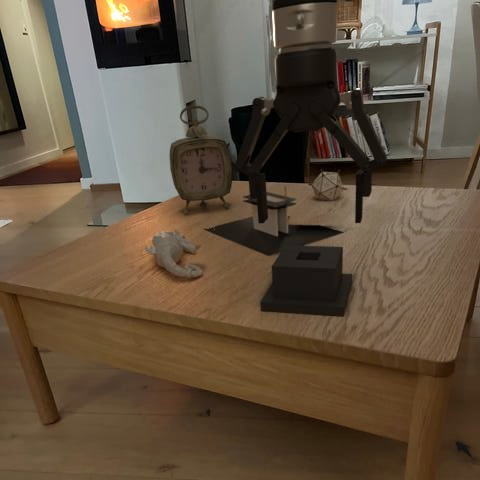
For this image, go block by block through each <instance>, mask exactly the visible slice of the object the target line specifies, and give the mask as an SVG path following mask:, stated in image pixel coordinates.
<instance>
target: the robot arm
mask: <svg viewBox="0 0 480 480" xmlns="http://www.w3.org/2000/svg"><path fill="white" fill-rule="evenodd" d="M354 1H355V0H271V4H272V11H271V12H272V15H271V16H272V31H273V32H272V33H273V48H274V49H276V50H279V52H278V54H276V55H275V57H274V69H275V70H274V71H275V89H276V90H275V92H276V93H275V97H274V98H268V97H267V98H265V96H258V97H255V98H253V100H252V102H251V103H252V104H251V106H252V107H251V119H250V121H249V124H248V127H247V130H246V132H245V134H244V138H243V141H242V143H241V147H240V149H239V152H238V155H237V158H236V161H235V163H234V166H233V170H234V172H236V173H241V174H244V175H246V176H247V178H248V179H247V180H248V189H249V195H250V197H251V199H257V210H258V223H264V222H265V221H266V220H267V219H268V208H267V193H266V192H267V179H266V172H261V169H262V168H263V167H264V165H265V164H266V162H267V161H268V159H269V158H270V157H271V155H272V154H273V153H274V151H275V150H276V148H277V147H278V145H279V144H280V142H281V141H282V140H283V138H284V137H285V136H286V134H287V133H288V131H291V132H293V133H295V134H296V133H303V132H305V131H307V132H319V131H321V130H322V129H325V130H326V131H327V132H328V133H329V134H330V135H331V136H332V137H333V138H334V139H335V140H336V142H337V143H338V144H339V145H340V146H341V148H342V149H343V150H344V151H345V152H346V154H348V157H350V158H351V160H353V161H354V163H355V164H356V165H357V166H358V168H359V169H357V171H356V174H355V203H354V204H355V208H354V209H355V210H354V211H355V212H354V224H362V222H363V221H362V220H363V212H364V211H363V209H364V208H363V206H364V198H369V197H370V196H371V194H372V190H373V189H372V188H373V172H374V171H375V170H377V169H379V168H383V167H385V166H386V165H387V162H388V156H387V154H386V151H385V150H384V148H383V145H382V143H381V141H380V138H379V136H378V134H377V132H376V130H375V128H374V126H373V123H372V121H371V119H370V117H369V116H368V113H367V110H366V108H365V104H364V91H363V89H362V88H360V87H357V88H355V89H353V90H350V91H345V92H341V93H340V91H339V89H338V51H336V48H333V44H335V43H337V41H338V2H342V3H343V2H344V3H345V2H350V3H351V2H354ZM341 103H343V104H344V105H345V108H346V109H347V110H349V111H352V114H353V116H354V119H355V121H356V124H357V125H358V128H359V129H360V132H361V134H362V136H363V138H364V140H365V142H366V144H367V147H368V149H369V151H370V154H371V155H372V158H370V157H369V156H368V155H367V154H366V153H365V151H364V150H363V149H362V148H361V147H360V146H359V144H358V143H357V142H356V140H354V138H353V137H352V136H351V135H350V133H349V132H348V131H347V130H346V129H345V127H344V126H343V125H342V123H341V122H340V120H339V119H338V118H337V117H336V116H335V115H334V114H335V112H336V111H337V109H338V107H339V106H340V104H341ZM272 109H274V111H275V112H276V114H277V115H278V116H279V118H280V121H279V122H278V124H277V125H276V127H275V128H274V130H273V132H272V133H271V135H270V136H269V138H268V139H267V140H266V142H265V144H264V145H263V146H262V147H261V149H260V151H259V152H258V154H257V155H256V156H255V158H254V159H253V161H252V162H250V160H251V157H252V154H253V151H254V149H255V146H256V144H257V141H258V138H259V136H260V133H261V130H262V127H263V124H264V122H265V119H266V117H267V116H268V115H270V113H271V111H272Z"/></svg>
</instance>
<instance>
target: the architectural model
mask: <svg viewBox="0 0 480 480" xmlns="http://www.w3.org/2000/svg"><path fill="white" fill-rule="evenodd" d="M266 193H267V208H268V219H267V220H266V221H265V222H264V223H258V210H257V199H251V197H250V194H248V195H244V196H242V198H243V199H244V200H242V202H243V203H245V204H250V205H251V207H252V208H251V209H252V216H249V217H245V218H242V219H241V218H240V219H238V220H233V221H230V222H226V223H222V224H218V225H215V227H214V226H211V227H212V228H210V227H207V228H209V229H207V228H204V229H203V230H205V229H207V230H205V231H207V232H210V233H212V234H214V235H217V236H219V237H222V238H224V239H227V240H229V241H231V242H234V243H235V244H238V245H241V246H243V247H246V248H248V249H251V250H253V251H256V252H258V253H261V254H262V255H265V256H268V257H269V256H273V255H276V254H280V253H281V251H282V250H283V248H284V247H285V245H294V246H306V245H308V244H311V243H315V242H318V241H321V240H324V239H327V238H331V237H334V236H337V235H340V234H344V231H341V230H339V229H335V230H334V228H332V227H328V226H325V225H321V224H289V220H290V219H291V216H290V215H289V213H288V212H289V211H288V210H289V209H288V208H289V207H290V208H291V207H293V206H295V205H297V203H296V202H294V201H296V200H297V198H294V197H290V196H287V186H284V195H281V194H277V193H273V192H269V191H266ZM213 227H214V228H213ZM214 229H215V230H214Z"/></svg>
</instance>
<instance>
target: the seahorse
mask: <svg viewBox="0 0 480 480" xmlns="http://www.w3.org/2000/svg"><path fill="white" fill-rule="evenodd" d="M151 243H152V245H153V246H151V245H146V246H144V250H145V251H146V253H148V254H149V255H154V258H155V260H156V262H157V265H158V266H159V267H161V268H164V269H165V270H166V271H167V272H170V273H171V274H172V275H175V276H178V277H179V278H182V277H183V278H186V279H190V278H198V277H201V276H203V274H204V273H203V269H201V267H200V266H196V264H191V263H190V262H189V263H187V264H184V266H183V267H181V265H179V264H178V263H179V262H180V261H181V259H182V257H183V254H184V251H185V252H187V253H190V254H193V255H194V254H195V253H196V252H197V246H196V245H195V244H193V243H192V242H190V240H188V238H186V236H184V235H182V234H181V233H180V231H179V230H178V229H176V228H175V229H174V232H173V231H160V232H158V233H156V234H154V235H153V236H152V238H151Z"/></svg>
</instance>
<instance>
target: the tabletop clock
mask: <svg viewBox="0 0 480 480" xmlns="http://www.w3.org/2000/svg"><path fill="white" fill-rule="evenodd" d="M192 109H200V110H202V111H204V112H205V113H206V117H204V119H201V120H199V121H198V119H197V118H196V117H194V118H192V121H186V120H184V119H183V115H184V113H185V112H186V111H188V110H192ZM209 115H210V114H209V111H208V109H207V108H206V107H205V106H202V105H197V104H196V105H188V106H186V107H184V108H182V110H181V111H180V113H179V119H180V121H181V122H182V123H183V124H184V125H189V126H190V127H189V128H188V129H187V131H186V134H185V137H183V138H180V139H176V140H175V141H173V142H171V143H170V147H169V168H170V174H171V178H172V183H173V186H174V189H175V190H176V192H177V194H178V195H179V197H180V199H181V200H183V201H185V202H186V203H185V207H184V208H183V209H182V214H183V215H186V216H187V215H188V214H189V212H190V209H188V208H189V205H190V203H191V202H199V201H201V202H200V204H199V206H200V208H202V209H205V208H206V207H207V202H206V201H209V200H215V199H220V200H221V202H222V203H223V205H222V206H223V208H224V209H225V210H228V209H229V208H230V203H229V202H228V201H227V202H226V201H225V198H224V197H226V196H227V195H229V194H230V193H231V189H232V186H233V165H232V159H231V158H232V157H231V154H230V150H229V149H230V148H229V146H228V144H227V142H226V141H225V140H224V139H222V138H220V137H217V136H215V135H208V133H207V130H206V129H205V128H204V127H203V126H200V125H202V124H203V123H206V121H207V120H208V119H209Z"/></svg>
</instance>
